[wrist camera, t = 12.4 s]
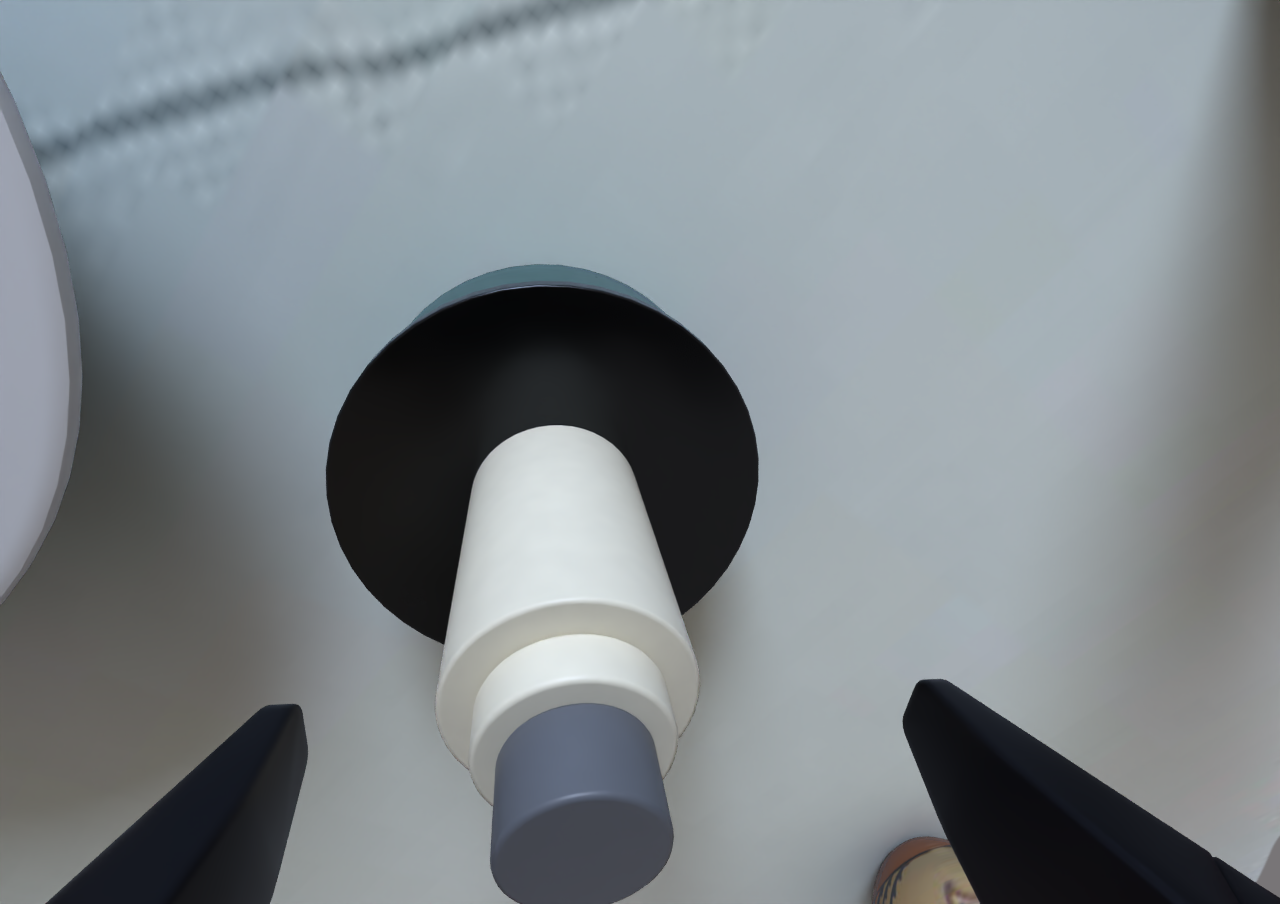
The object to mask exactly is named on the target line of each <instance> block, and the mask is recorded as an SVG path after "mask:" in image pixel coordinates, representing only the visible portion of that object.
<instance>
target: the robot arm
mask: <svg viewBox="0 0 1280 904" xmlns="http://www.w3.org/2000/svg"><path fill="white" fill-rule="evenodd" d="M903 729H904V733H905V736H906V738H907V741H908V743H909V746H910V748H911V751H912V753H913V756H914V758H915V761H916V763H917V766H918V768H919V771H920V773H921V776H922V778H923V781H924V783H925V786H926V788H927V791H928V793H929V796H930V798H931V801H932V803H933V806H934V808H935V811H936V814H937V816H938V818H939V821H940V823H941V825H942V828H943V830H944V832H945V834H946V836H947V838H948V841H949V843H950V845H951V847H952V849H953V851H954V853H955V855H956V857H957V859H958V861H959V863H960V865H961V867H962V869H963V871H964V873H965V875H966V877H967V879H968V881H969V883H970V885H971V887H972V889H973V891H974V893H975V895H976V897H977V899H978V901H979V903H980V904H1280V898H1279V897H1277V896H1276V895H1274V894H1273V893H1271V892H1270V891H1268V890H1266V889H1265V888H1263V887H1262V886H1260V885H1258V884H1257V883H1256V882H1254V881H1252V880H1251V879H1249V878H1248V877H1246V876H1245V875H1243V874H1242V873H1240V872H1239V871H1237V870H1236V869H1234V868H1233V867H1231V866H1230V865H1228V864H1227V863H1225V862H1224V861H1222V860H1221V859H1219V858H1217V857H1212V855H1211V854H1210V853H1209V852H1208V851H1207V850H1205V849H1204V848H1202V847H1200V846H1199V845H1197V844H1196V843H1194V842H1193V841H1191V840H1190V839H1188V838H1187V837H1185V836H1184V835H1182V834H1181V833H1179V832H1178V831H1176V830H1175V829H1173V828H1172V827H1170V826H1168V825H1167V824H1165V823H1164V822H1162V821H1161V820H1159V819H1158V818H1156V817H1155V816H1153V815H1152V814H1150V813H1149V812H1147V811H1146V810H1144V809H1143V808H1141V807H1139V806H1138V805H1136V804H1135V803H1133V802H1132V801H1130V800H1129V799H1127V798H1126V797H1124V796H1123V795H1121V794H1120V793H1118V792H1117V791H1115V790H1114V789H1112V788H1110V787H1109V786H1107V785H1106V784H1104V783H1103V782H1101V781H1100V780H1098V779H1097V778H1095V777H1094V776H1092V775H1091V774H1089V773H1088V772H1086V771H1085V770H1083V769H1082V768H1080V767H1078V766H1077V765H1075V764H1074V763H1072V762H1071V761H1069V760H1068V759H1066V758H1065V757H1063V756H1062V755H1060V754H1059V753H1057V752H1056V751H1054V750H1053V749H1051V748H1049V747H1048V746H1046V745H1045V744H1043V743H1042V742H1040V741H1039V740H1037V739H1036V738H1034V737H1033V736H1031V735H1030V734H1028V733H1027V732H1025V731H1024V730H1022V729H1021V728H1019V727H1017V726H1016V725H1014V724H1013V723H1011V722H1010V721H1008V720H1007V719H1005V718H1004V717H1002V716H1001V715H999V714H998V713H996V712H995V711H993V710H992V709H990V708H988V707H987V706H985V705H984V704H982V703H981V702H979V701H978V700H976V699H975V698H973V697H972V696H970V695H969V694H967V693H966V692H964V691H963V690H961V689H960V688H958V687H956V686H955V685H953V684H952V683H950V682H949V681H947V680H943V679H928V680H920V681H919V682H918V683H917V684H916V685H915V688H914V690H913V693H912V695H911V698H910V700H909V703H908V705H907V708H906V710H905V713H904V716H903ZM307 758H308V745H307V738H306V732H305V725H304V719H303V713H302V710H301V708H300V706H299V705H296V704H280V705H268V706H265V707H263V708H261V709H260V710H259V711H258V712H257V713H255V714H254V715H253V716H252V717H251V718H250V719H249V720H248V721H247V722H246V723H244V724H243V725H242V726H241V727H240V728H239V729H238V730H237V731H236V732H234V733H233V734H232V735H231V736H230V737H229V738H228V739H227V740H226V741H225V742H223V743H222V744H221V745H220V746H219V747H218V748H217V749H216V750H215V751H213V752H212V753H211V754H210V755H209V756H208V757H207V758H206V759H205V760H204V761H202V762H201V763H200V764H199V765H198V766H197V767H196V768H195V769H194V770H193V771H191V772H190V773H189V774H188V775H187V776H186V777H185V778H184V779H183V780H181V781H180V782H179V783H178V784H177V785H176V786H175V787H174V788H173V789H172V790H170V791H169V792H168V793H167V794H166V795H165V796H164V797H163V798H162V799H160V800H159V801H158V802H157V803H156V804H155V805H154V806H153V807H152V808H151V809H149V810H148V811H147V812H146V813H145V814H144V815H143V816H142V817H141V818H140V819H138V820H137V821H136V822H135V823H134V824H133V825H132V826H131V827H130V828H128V829H127V830H126V831H125V832H124V833H123V834H122V835H121V836H120V837H119V838H117V839H116V840H115V841H114V842H113V843H112V844H111V845H110V846H109V847H107V848H106V849H105V850H104V851H103V852H102V853H101V854H100V855H99V856H98V857H96V858H95V859H94V860H93V861H92V862H91V863H90V864H89V865H88V866H87V867H85V868H84V869H83V870H82V871H81V872H80V873H79V874H78V875H77V876H75V877H74V878H73V879H72V880H71V881H70V882H69V883H68V884H67V885H66V886H64V887H63V888H62V889H61V890H60V891H59V892H58V893H57V894H56V895H55V896H53V897H52V898H51V899H50V900H49V901H48V902H47V903H46V904H270V902H271V899H272V896H273V893H274V889H275V885H276V882H277V878H278V875H279V871H280V867H281V863H282V859H283V855H284V851H285V847H286V843H287V840H288V836H289V832H290V828H291V824H292V820H293V816H294V812H295V808H296V804H297V800H298V797H299V793H300V789H301V785H302V781H303V777H304V773H305V769H306V765H307Z"/></svg>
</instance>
